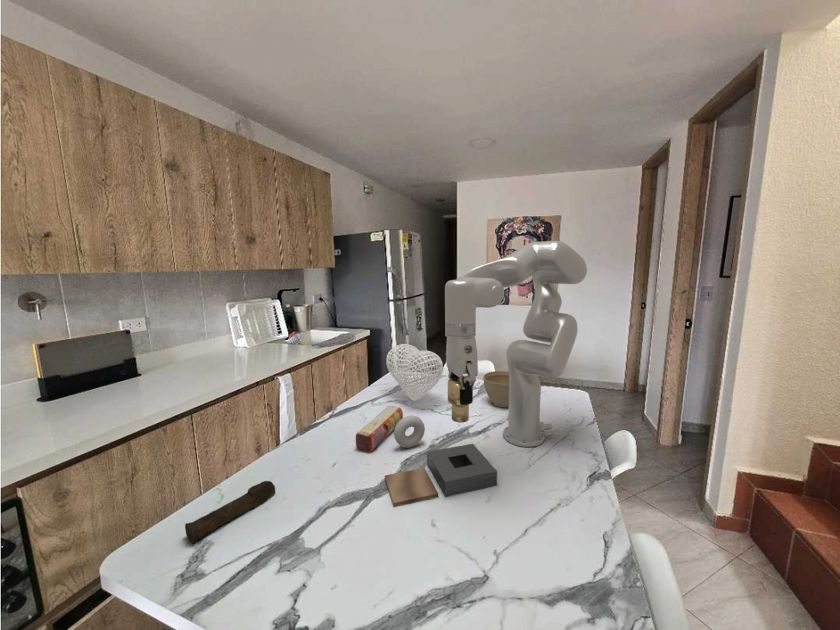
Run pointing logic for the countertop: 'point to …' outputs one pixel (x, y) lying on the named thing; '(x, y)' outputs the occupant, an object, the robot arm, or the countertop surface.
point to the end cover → (457, 401)
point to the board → (410, 487)
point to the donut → (403, 426)
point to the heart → (414, 353)
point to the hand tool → (230, 510)
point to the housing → (461, 469)
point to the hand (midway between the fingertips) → (460, 397)
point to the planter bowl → (497, 387)
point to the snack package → (378, 428)
